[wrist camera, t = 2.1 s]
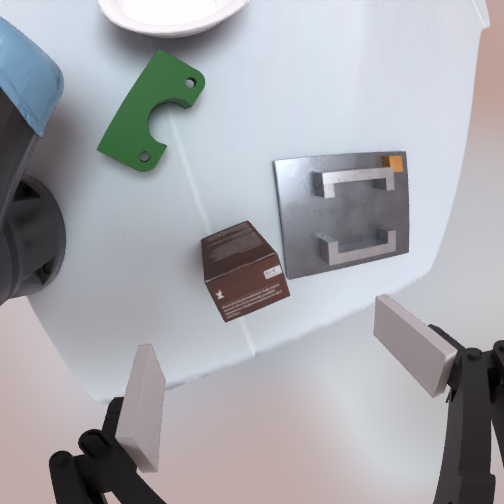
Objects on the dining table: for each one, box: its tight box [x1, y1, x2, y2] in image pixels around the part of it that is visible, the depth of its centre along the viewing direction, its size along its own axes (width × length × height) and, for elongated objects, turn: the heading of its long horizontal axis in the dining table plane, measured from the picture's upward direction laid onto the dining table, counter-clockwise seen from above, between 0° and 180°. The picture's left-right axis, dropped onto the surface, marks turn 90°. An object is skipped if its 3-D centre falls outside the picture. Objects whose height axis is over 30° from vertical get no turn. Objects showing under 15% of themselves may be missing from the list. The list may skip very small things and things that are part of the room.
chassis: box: [273, 151, 409, 280], centre depth 34 cm, size 18×14×4 cm
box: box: [201, 221, 290, 322], centre depth 28 cm, size 6×4×12 cm
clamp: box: [97, 49, 205, 172], centre depth 26 cm, size 12×6×9 cm, turn 143°
